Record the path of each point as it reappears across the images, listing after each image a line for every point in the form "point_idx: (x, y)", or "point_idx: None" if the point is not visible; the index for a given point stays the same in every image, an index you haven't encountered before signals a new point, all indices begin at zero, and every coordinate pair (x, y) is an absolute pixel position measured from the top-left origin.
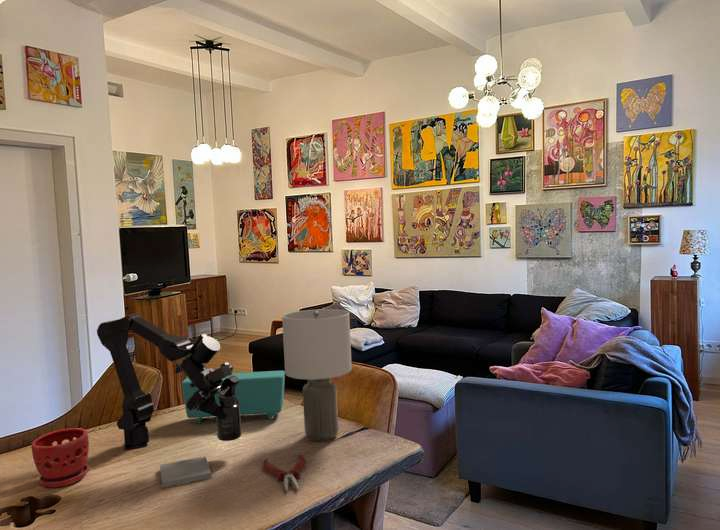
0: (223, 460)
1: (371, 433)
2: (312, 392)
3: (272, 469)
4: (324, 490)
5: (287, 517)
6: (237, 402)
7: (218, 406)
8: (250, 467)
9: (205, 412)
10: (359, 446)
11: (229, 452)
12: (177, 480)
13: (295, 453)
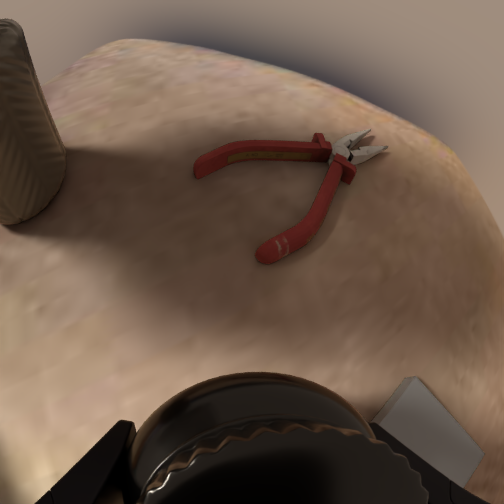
0: None
1: None
2: (9, 44)
3: (330, 196)
4: (336, 100)
5: (433, 136)
6: (88, 467)
7: (436, 497)
8: (298, 301)
9: None
10: (104, 93)
11: None
12: (466, 433)
13: (152, 205)
